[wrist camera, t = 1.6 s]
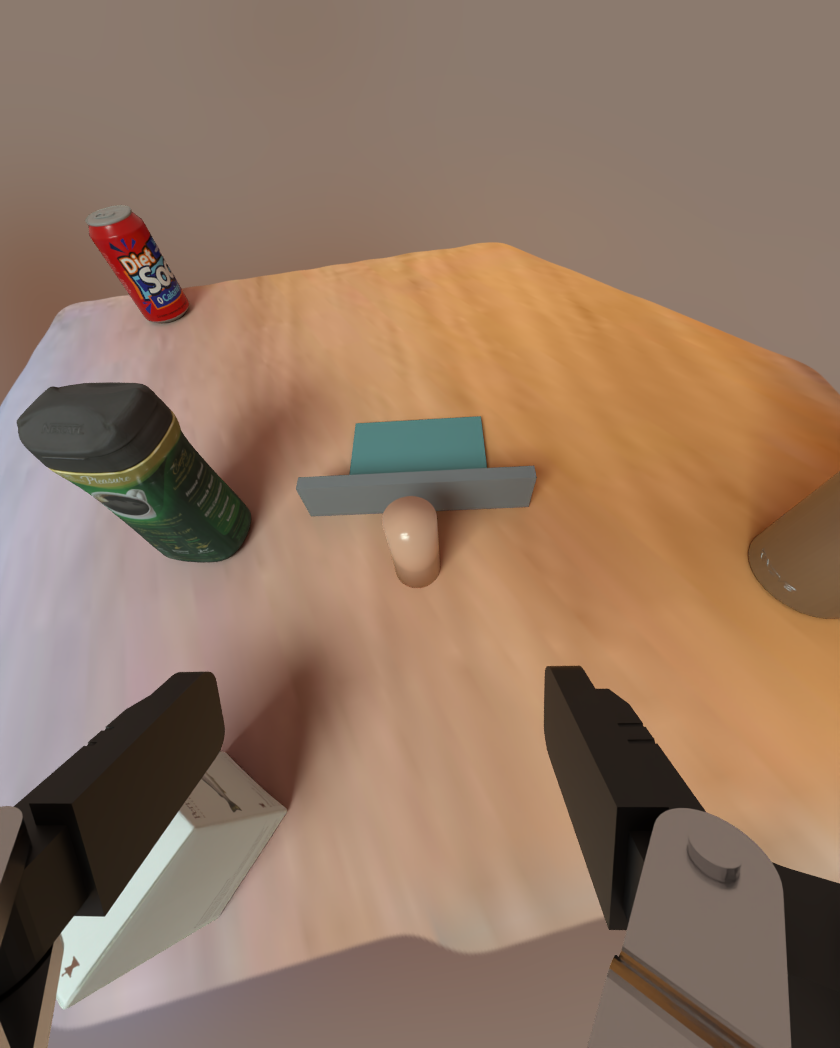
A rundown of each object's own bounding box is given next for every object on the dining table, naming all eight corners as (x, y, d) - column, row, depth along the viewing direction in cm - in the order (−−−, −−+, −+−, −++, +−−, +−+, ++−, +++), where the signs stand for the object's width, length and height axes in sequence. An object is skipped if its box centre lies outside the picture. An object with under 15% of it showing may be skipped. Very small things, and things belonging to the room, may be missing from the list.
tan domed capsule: (435, 544, 41) (431, 491, 33) (444, 583, 38) (441, 536, 31) (392, 552, 41) (378, 501, 33) (399, 591, 38) (385, 547, 31)
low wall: (526, 495, 43) (534, 465, 39) (528, 506, 42) (536, 477, 38) (313, 505, 45) (298, 477, 40) (311, 516, 44) (295, 489, 40)
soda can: (153, 305, 72) (90, 206, 60) (195, 299, 72) (141, 199, 60) (142, 329, 68) (71, 228, 55) (187, 323, 68) (126, 220, 55)
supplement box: (291, 809, 29) (199, 829, 19) (216, 922, 26) (55, 1024, 16) (226, 747, 32) (112, 734, 21) (151, 844, 29) (-26, 886, 18)
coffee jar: (262, 506, 45) (160, 365, 29) (238, 568, 41) (103, 442, 25) (185, 502, 46) (48, 364, 31) (154, 562, 42) (-24, 437, 26)
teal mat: (480, 420, 50) (480, 416, 49) (488, 488, 44) (489, 485, 44) (356, 427, 51) (355, 423, 50) (348, 494, 45) (347, 491, 44)
